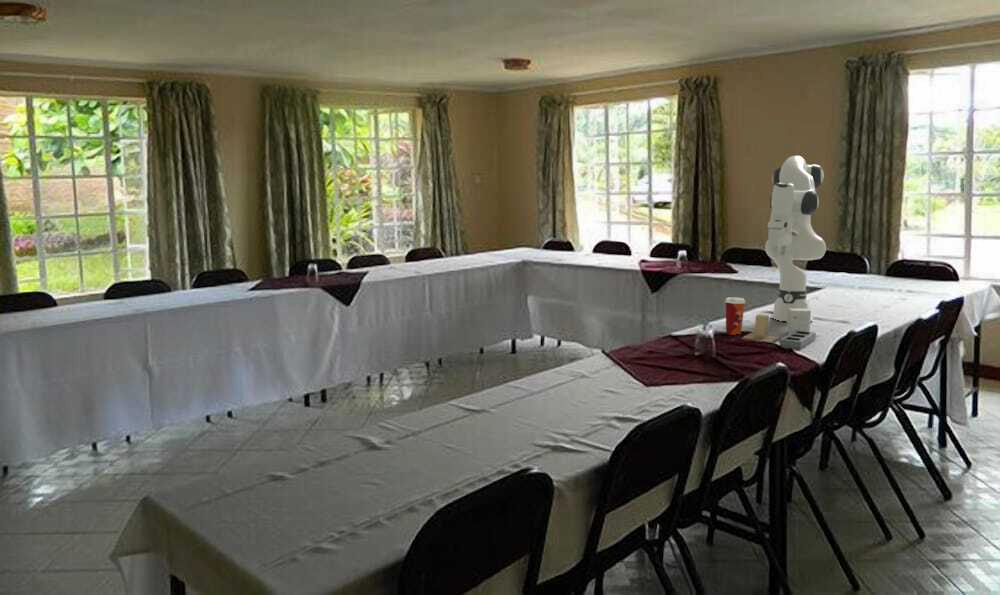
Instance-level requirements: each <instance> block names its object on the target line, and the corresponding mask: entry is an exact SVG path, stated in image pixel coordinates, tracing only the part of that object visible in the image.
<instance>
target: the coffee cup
mask: <svg viewBox="0 0 1000 595" xmlns="http://www.w3.org/2000/svg"><path fill="white" fill-rule="evenodd" d="M724 303H725V334H726V335H730V336H737V335H736V334H740V335H741V334H742V327H743V320H744V310H745V303H746V300H745V298H743V297H737V296H736V297H735V296H732V297H730V296H729V297H727V298H726V299H725V301H724Z"/></svg>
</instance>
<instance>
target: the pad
mask: <svg viewBox="0 0 1000 595" xmlns="http://www.w3.org/2000/svg"><path fill="white" fill-rule="evenodd" d="M740 338H741V339H740V340H741V341H743V340H744V341H743V342H751V341H756V342H755V343H758V342H767V343H772V344H775V343H776V342H777V341H780V339H781V336H779V335H770V334H768V337H767V338H765V339H763V338H756V337H755V332H750V333H748V334H745V335H744V336H743V337H740Z"/></svg>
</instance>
